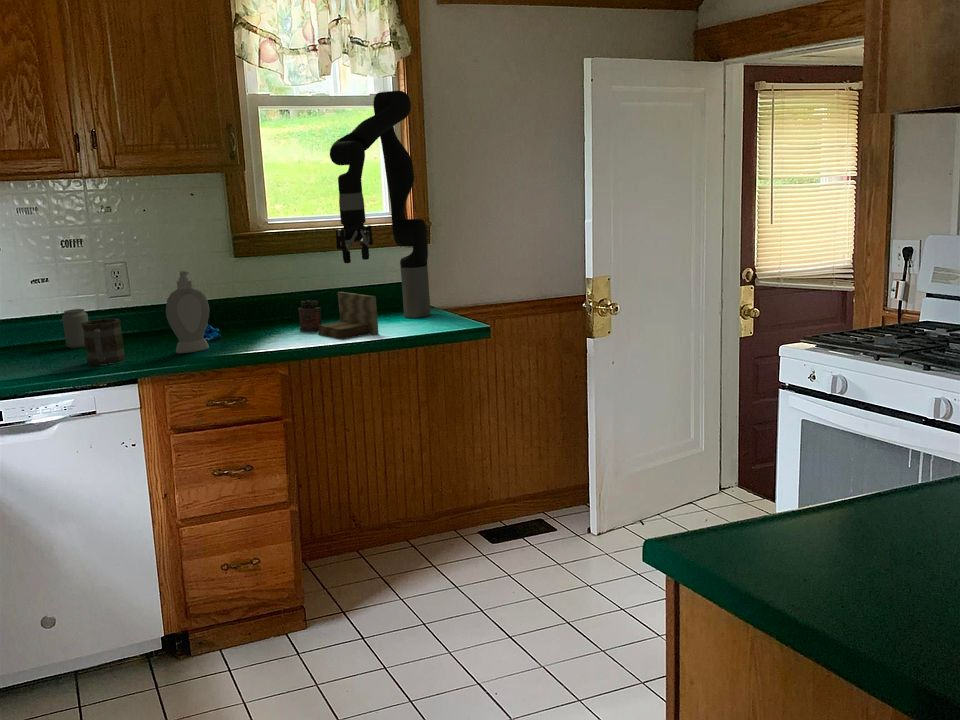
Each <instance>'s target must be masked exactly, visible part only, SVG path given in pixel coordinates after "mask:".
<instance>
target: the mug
mask: <svg viewBox="0 0 960 720" xmlns="http://www.w3.org/2000/svg"><path fill="white" fill-rule="evenodd" d="M81 324H82V327H83V332H84V344H85V347H84V348H85V352H86V361H87V363H88V364H90V365H101V364H102V365H103V364H109V363H116V362H120V361H123V360H125V359H126V360H127V357H126V353H125V345H124V336H123V331H122V320H121V319H120V318H99V319H92V320H88V321H87V322H84V323H81ZM123 362H124V361H123ZM87 363H86V364H87ZM88 364H87V365H88ZM90 365H89V366H90Z"/></svg>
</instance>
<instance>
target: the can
mask: <svg viewBox="0 0 960 720" xmlns="http://www.w3.org/2000/svg"><path fill="white" fill-rule="evenodd" d="M61 318H62V324H63V325H62V326H63V332H64V339H65V345H66V347H68V348H69V349H72V350H75V349H84V348H85V344H84V332H83V327H82V324H81V323H84V322H87V321H89V316H88V313H87V312H86V311H85V309H84V308H73V309H68V310H65V311H63V314H62V317H61Z"/></svg>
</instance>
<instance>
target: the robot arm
mask: <svg viewBox="0 0 960 720" xmlns="http://www.w3.org/2000/svg"><path fill="white" fill-rule="evenodd" d="M411 107H412V103H411V99H410V97H409V95H408V93H406V92H405V91H403V90H393V91H392V90H390V91H380V92H377V93H375V95H374V98H373V114H374V115H372V116H369V117H368V118H366V119H364V120H363V121H361V122H360V123H359V124H358V125H356V127H355V128H354V129H353V130H352V131H351V132H350V133H347V134H345V135H344V136H342V137H340V138H339V139H337V140H336V141H335V142H334V143H332V145H331V147H330V149H329V157H330V160H331V162H332V163H334V165H337V166H348V170H347V172H344V173H342V174H340V175H339V176H338V177H337V183H338V194H339V195H338V205H339V206H338V207H339V215H340V217H339V218H340V223H341V225H342V226H343V227H342V228H343V229H338V228H337V229H335V236H336V237H335V239H336V240H335V243H336V249H337V250H340V251H342V261H343V264H350V263H351V262H352V261H351V250H350V249H351V246H352V245H353V244H354V243H356V242H357V243H359V245H360V247H361V248H360V249H361V259H362V260H363V261H365V260H369V259H370V249H369V248H370V246H371V245H374V239H373V231H372V226H371V225H364V224H365V223H366V221H367V220H366V210H365V200H364V194H363V187H362V186H363V185H362V176H363V170H364V165H365V161H366V159H365V158H366V152H365V151H367V150H369V148H370V147H371V146H372V145H373V144H375V142H376V141H377V140H378V139H379V138H380V143H381V149H382V153H383V155H382V156H383V161H384V162H383V163H384V167H385V168H384V169H385V170H384V171H385V175H386V183H387V187H388V194H389V195H388V196H389V201H390V213H391V225H392V227H391V228H392V229H391V230H392V235H393V239H394V242H395V244H396V245H397V246H398V247H412V251H411V253H410V254H409V255H407V256H403V257H401V259H400V261H399V265H400V275H401V276H400V278H401V279H400V280H401V290H402V291H401V292H402V303H403V317H404V318H409V319H412V318H413V319H414V318H425V317H429V316H431V300H430V297H431V296H430V283H429V281H430V280H429V270H428V257H429V249H428V248H429V247H428V246H429V243H428V240H429V239H428V238H429V237H428V227H427V224H426V222H425V221H424V219H422V218H406V204H407V200H408V197H409V195H410V193H411V190H412V188H413V186H414V183H415V172H414V167H413V160H412V157H411V155H410V153H409V152H408V150H407V149H406V148H405V146H404V145H403V144H402V142H401V141H400V140H399V138H398V137H397V135H396V132H395V128H394V126H396V125H397V124H398V123H400V122H402V121H403V120H405V119H406V118H407V117H408V116H409V115H410V113H411V109H412V108H411Z"/></svg>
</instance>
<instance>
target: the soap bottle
mask: <svg viewBox="0 0 960 720" xmlns="http://www.w3.org/2000/svg"><path fill="white" fill-rule="evenodd" d="M178 272H179V277H178V280H176V289H175V290H174V291H172V292H170V294H169V296H168V297H167V299H166V306H165V317H166V320H167V322H168V325H170V328H171V330H172V331H173V333H174V334H175V336H176V338H177V340H178V342H177V344H176V347H175V353H176V354H187V353H190V354H191V353H196V352H202V351H206V350H208V349H210V346H209V343H208V342H207V340H206V339H205V338H204V336H205V333H206V331H207V326H208V322H209V317H210V305H209V301H208V299H207V297H206V295H205V293H204V292H202V290H201V289H199V288H195V287H193V280H192V279H190V276H188V275H189V271H188V270H187V269H184V270H179V271H178Z"/></svg>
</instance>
